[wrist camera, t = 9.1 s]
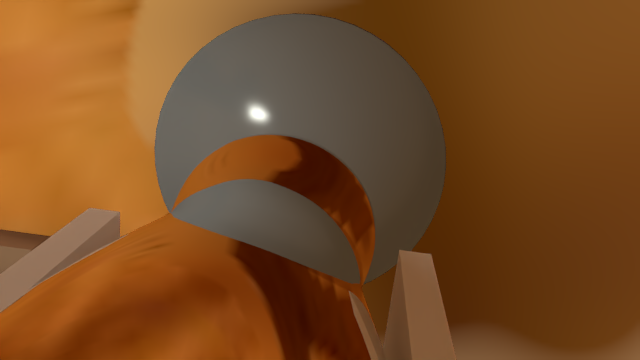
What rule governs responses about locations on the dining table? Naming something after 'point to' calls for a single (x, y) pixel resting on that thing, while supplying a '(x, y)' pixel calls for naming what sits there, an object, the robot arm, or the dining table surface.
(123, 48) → the dining table surface
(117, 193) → the dining table surface
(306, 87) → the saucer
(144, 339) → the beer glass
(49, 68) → the dining table surface
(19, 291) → the robot arm
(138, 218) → the dining table surface
